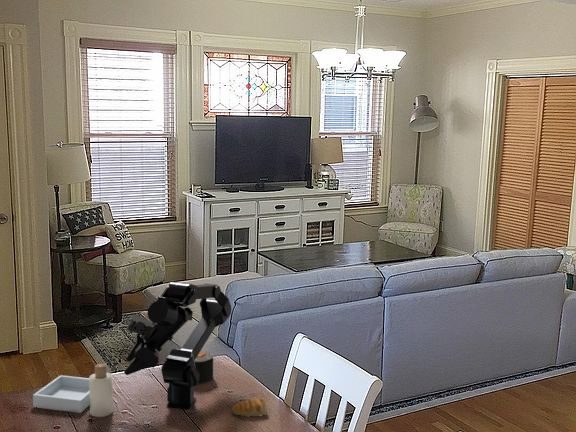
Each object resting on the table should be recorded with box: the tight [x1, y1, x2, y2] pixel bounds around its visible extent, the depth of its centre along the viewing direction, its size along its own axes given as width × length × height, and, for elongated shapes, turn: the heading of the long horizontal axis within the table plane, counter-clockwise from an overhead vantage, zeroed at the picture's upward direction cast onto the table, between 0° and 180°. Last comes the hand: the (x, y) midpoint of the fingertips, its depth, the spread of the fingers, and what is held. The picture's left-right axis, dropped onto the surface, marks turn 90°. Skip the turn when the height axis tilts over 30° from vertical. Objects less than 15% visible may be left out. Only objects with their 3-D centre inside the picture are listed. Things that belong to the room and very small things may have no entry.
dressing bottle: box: [88, 363, 114, 418], centre depth 174 cm, size 6×6×13 cm
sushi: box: [195, 350, 214, 384], centre depth 198 cm, size 8×8×8 cm
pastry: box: [231, 397, 268, 417], centre depth 177 cm, size 9×7×4 cm
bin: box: [32, 374, 90, 414], centre depth 182 cm, size 14×14×4 cm
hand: (126, 366), depth 174 cm, fingers open, 9 cm apart
